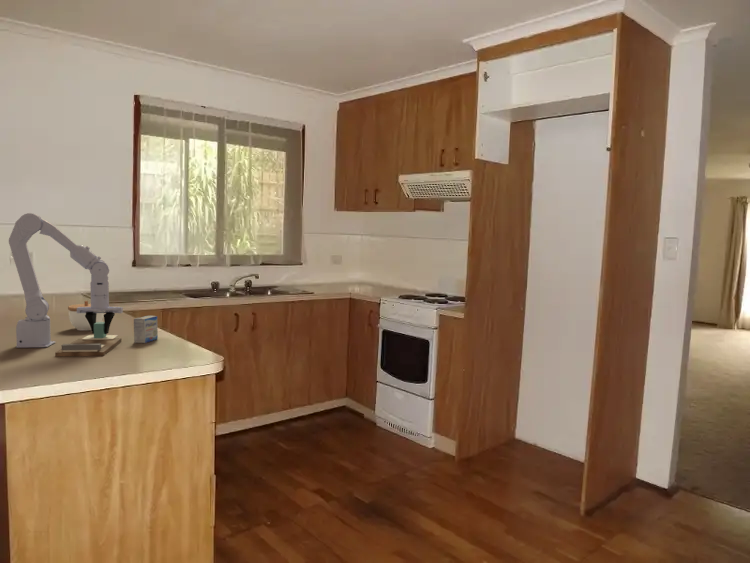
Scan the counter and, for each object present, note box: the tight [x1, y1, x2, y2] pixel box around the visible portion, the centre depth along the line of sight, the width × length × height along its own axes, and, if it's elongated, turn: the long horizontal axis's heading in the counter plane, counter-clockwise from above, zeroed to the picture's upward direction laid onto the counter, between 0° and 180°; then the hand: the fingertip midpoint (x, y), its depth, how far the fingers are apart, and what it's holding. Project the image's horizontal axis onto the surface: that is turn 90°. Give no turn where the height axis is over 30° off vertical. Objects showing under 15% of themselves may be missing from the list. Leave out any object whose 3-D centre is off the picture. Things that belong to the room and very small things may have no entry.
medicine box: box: [133, 315, 159, 344], centre depth 201 cm, size 8×4×9 cm, turn 168°
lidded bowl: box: [67, 300, 105, 331], centre depth 220 cm, size 13×13×11 cm
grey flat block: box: [61, 343, 105, 352], centre depth 181 cm, size 11×9×2 cm
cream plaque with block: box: [81, 321, 119, 340], centre depth 197 cm, size 10×6×5 cm, turn 101°
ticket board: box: [54, 337, 122, 357], centre depth 187 cm, size 14×22×1 cm, turn 11°
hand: (100, 333), depth 198 cm, fingers open, 3 cm apart
